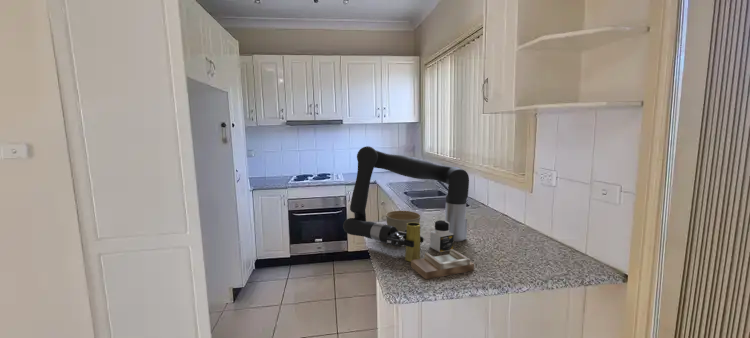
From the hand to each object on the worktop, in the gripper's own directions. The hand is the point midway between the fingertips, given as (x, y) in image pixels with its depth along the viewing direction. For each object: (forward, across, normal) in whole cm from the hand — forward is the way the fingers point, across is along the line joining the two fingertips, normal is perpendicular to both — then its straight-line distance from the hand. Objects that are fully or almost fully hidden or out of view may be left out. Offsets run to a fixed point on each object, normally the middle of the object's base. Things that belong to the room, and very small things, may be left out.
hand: (418, 242), depth 130 cm
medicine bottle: (+1, +18, +8) cm, 19 cm away
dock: (+11, -1, +8) cm, 13 cm away
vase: (-2, 0, +8) cm, 8 cm away
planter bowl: (-20, +19, +8) cm, 29 cm away
